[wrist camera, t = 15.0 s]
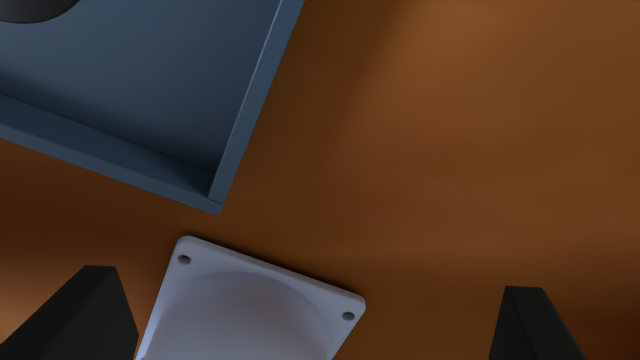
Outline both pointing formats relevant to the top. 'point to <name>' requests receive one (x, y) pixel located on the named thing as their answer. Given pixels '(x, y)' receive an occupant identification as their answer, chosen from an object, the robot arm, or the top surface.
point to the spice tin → (33, 10)
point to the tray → (146, 89)
